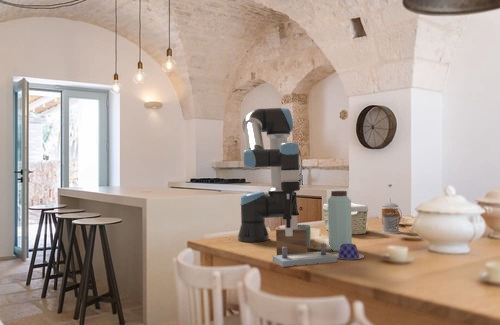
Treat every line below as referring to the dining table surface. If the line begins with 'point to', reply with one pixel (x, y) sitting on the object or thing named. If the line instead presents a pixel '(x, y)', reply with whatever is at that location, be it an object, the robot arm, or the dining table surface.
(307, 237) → the cup
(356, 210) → the storage basket
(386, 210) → the glass coffee carafe
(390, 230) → the french press
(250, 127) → the robot arm
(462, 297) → the dining table surface
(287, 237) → the wooden block
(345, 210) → the water bottle
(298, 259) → the light blue peg stand
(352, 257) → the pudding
